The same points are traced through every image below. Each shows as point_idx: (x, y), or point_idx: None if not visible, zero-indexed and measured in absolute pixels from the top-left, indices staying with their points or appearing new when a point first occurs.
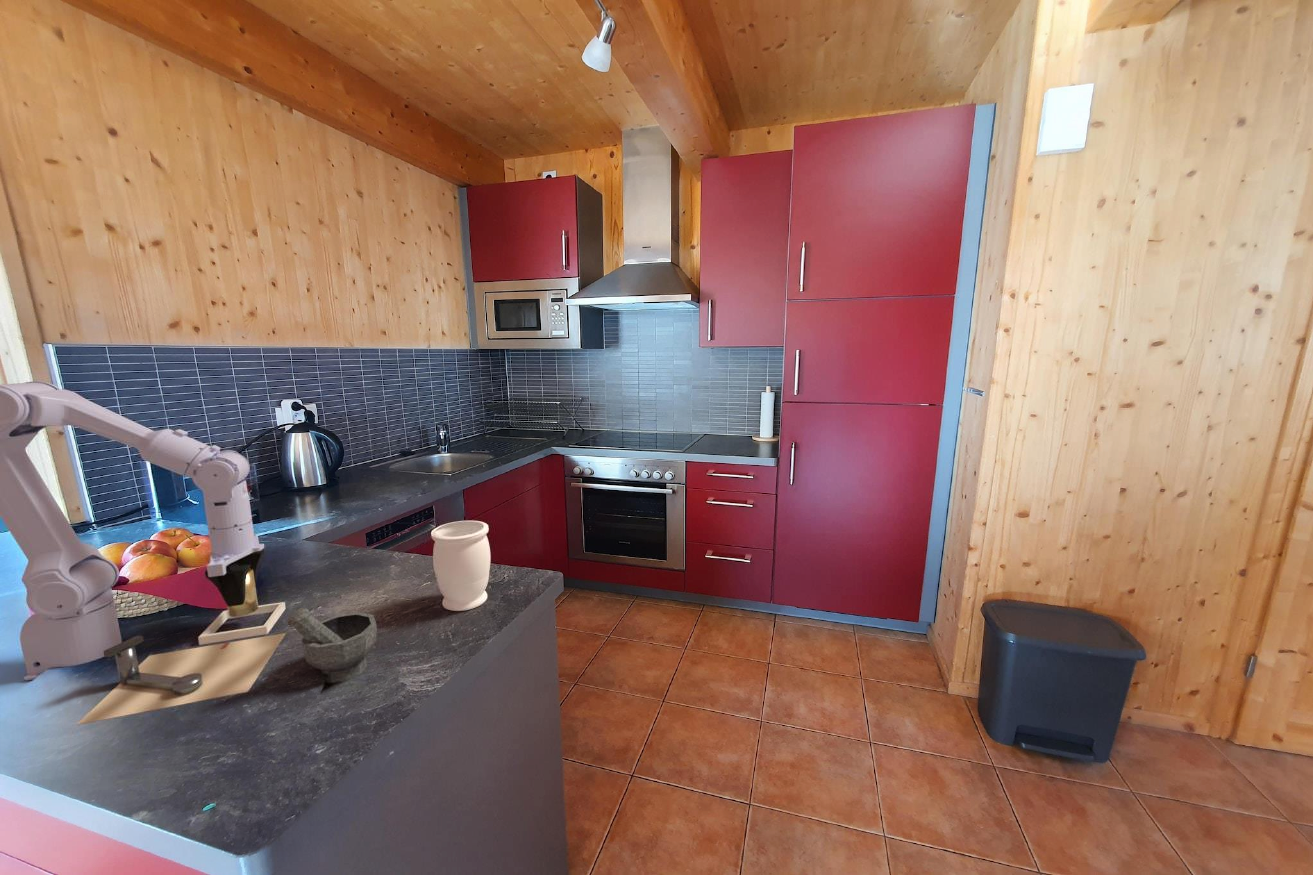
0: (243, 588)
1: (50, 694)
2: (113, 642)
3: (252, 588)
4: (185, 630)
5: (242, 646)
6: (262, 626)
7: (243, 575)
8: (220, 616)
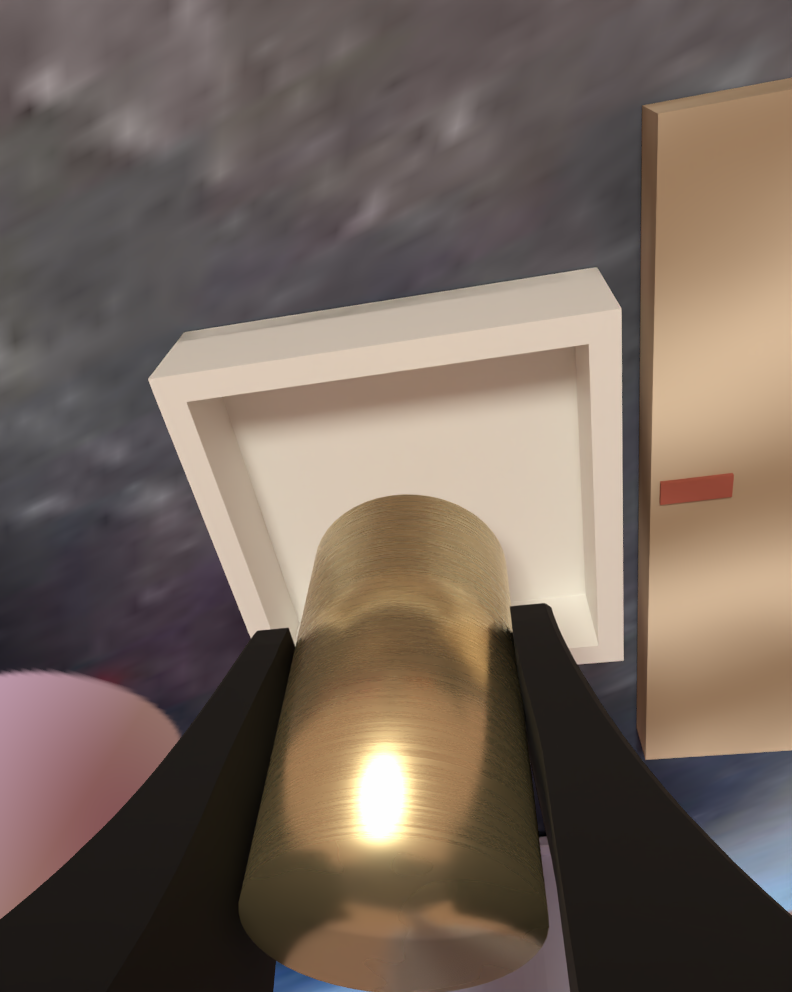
0: (596, 720)
1: (757, 871)
2: None
3: (424, 653)
4: None
5: (766, 372)
6: (606, 343)
7: (763, 897)
8: None
